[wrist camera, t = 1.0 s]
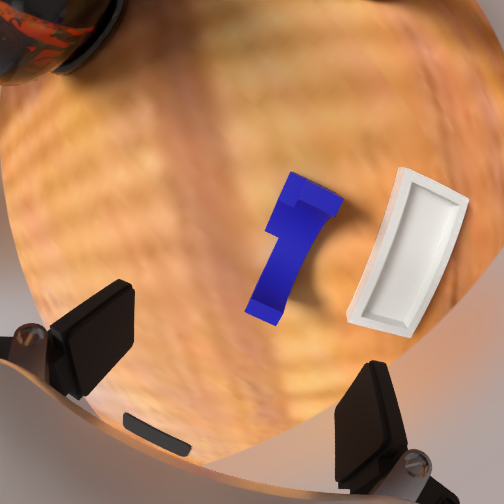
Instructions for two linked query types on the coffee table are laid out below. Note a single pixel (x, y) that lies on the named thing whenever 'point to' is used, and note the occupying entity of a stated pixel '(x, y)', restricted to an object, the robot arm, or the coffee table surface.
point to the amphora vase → (53, 35)
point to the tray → (408, 254)
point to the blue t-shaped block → (290, 242)
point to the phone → (155, 435)
